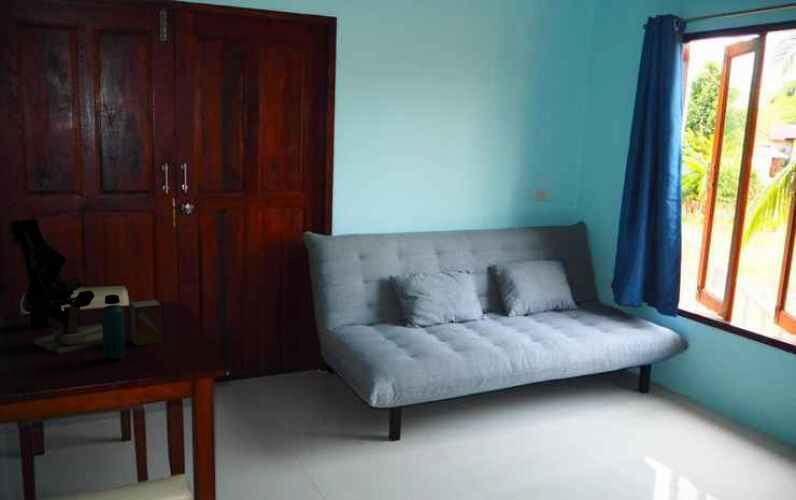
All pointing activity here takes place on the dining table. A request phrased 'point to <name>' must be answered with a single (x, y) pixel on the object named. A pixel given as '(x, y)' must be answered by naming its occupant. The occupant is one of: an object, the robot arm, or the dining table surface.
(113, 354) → the beverage bottle
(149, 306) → the small box
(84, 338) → the block
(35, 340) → the board
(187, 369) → the dining table surface
